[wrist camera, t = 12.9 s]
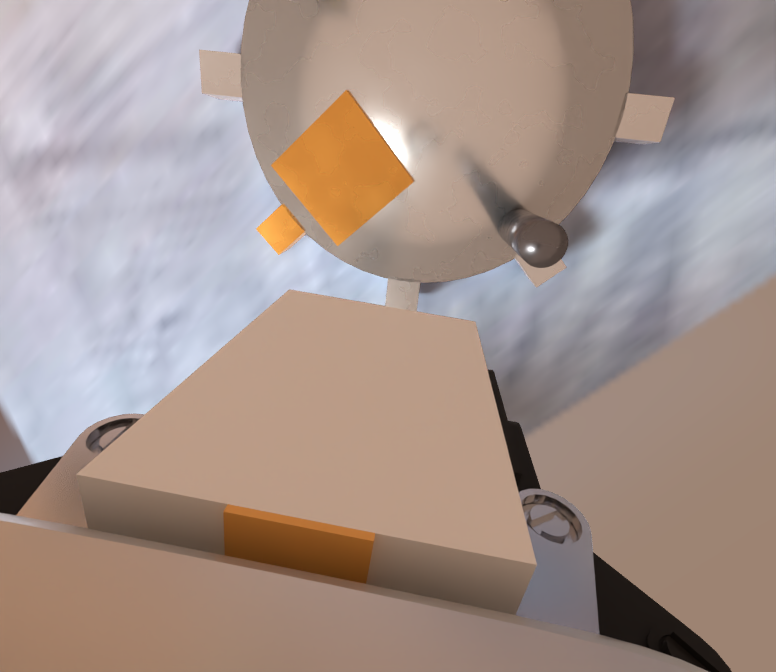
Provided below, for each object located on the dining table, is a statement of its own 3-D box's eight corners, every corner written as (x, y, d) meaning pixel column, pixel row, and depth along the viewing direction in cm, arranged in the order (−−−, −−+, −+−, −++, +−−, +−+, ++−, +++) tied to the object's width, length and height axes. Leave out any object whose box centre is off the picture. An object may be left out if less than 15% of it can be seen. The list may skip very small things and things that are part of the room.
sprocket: (743, 134, 22) (900, 116, 15) (394, 370, 30) (381, 436, 22) (488, -391, 16) (536, -863, 9) (135, 70, 24) (2, 26, 16)
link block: (438, 468, 13) (441, 793, 6) (282, 439, 13) (125, 724, 6) (475, 321, 11) (538, 574, 4) (289, 289, 11) (68, 481, 4)
